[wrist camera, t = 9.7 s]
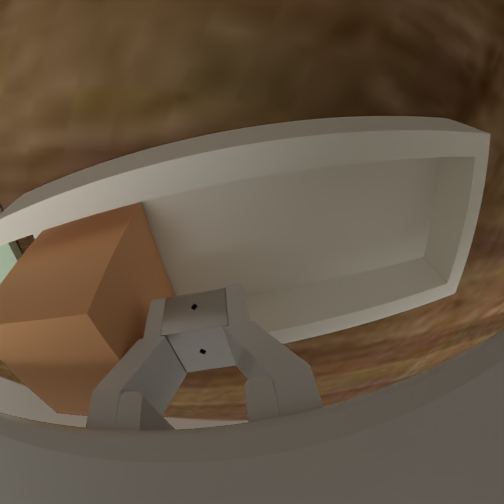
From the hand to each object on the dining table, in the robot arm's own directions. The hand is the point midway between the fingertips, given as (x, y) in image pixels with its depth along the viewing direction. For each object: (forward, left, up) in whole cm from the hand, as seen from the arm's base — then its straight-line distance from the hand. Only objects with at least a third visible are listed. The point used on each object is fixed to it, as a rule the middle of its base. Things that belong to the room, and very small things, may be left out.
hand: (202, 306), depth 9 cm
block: (+4, 0, -4) cm, 6 cm away
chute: (-2, 0, -4) cm, 5 cm away
